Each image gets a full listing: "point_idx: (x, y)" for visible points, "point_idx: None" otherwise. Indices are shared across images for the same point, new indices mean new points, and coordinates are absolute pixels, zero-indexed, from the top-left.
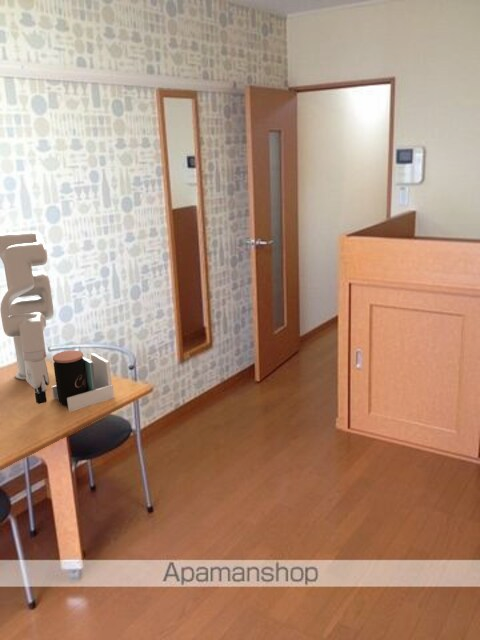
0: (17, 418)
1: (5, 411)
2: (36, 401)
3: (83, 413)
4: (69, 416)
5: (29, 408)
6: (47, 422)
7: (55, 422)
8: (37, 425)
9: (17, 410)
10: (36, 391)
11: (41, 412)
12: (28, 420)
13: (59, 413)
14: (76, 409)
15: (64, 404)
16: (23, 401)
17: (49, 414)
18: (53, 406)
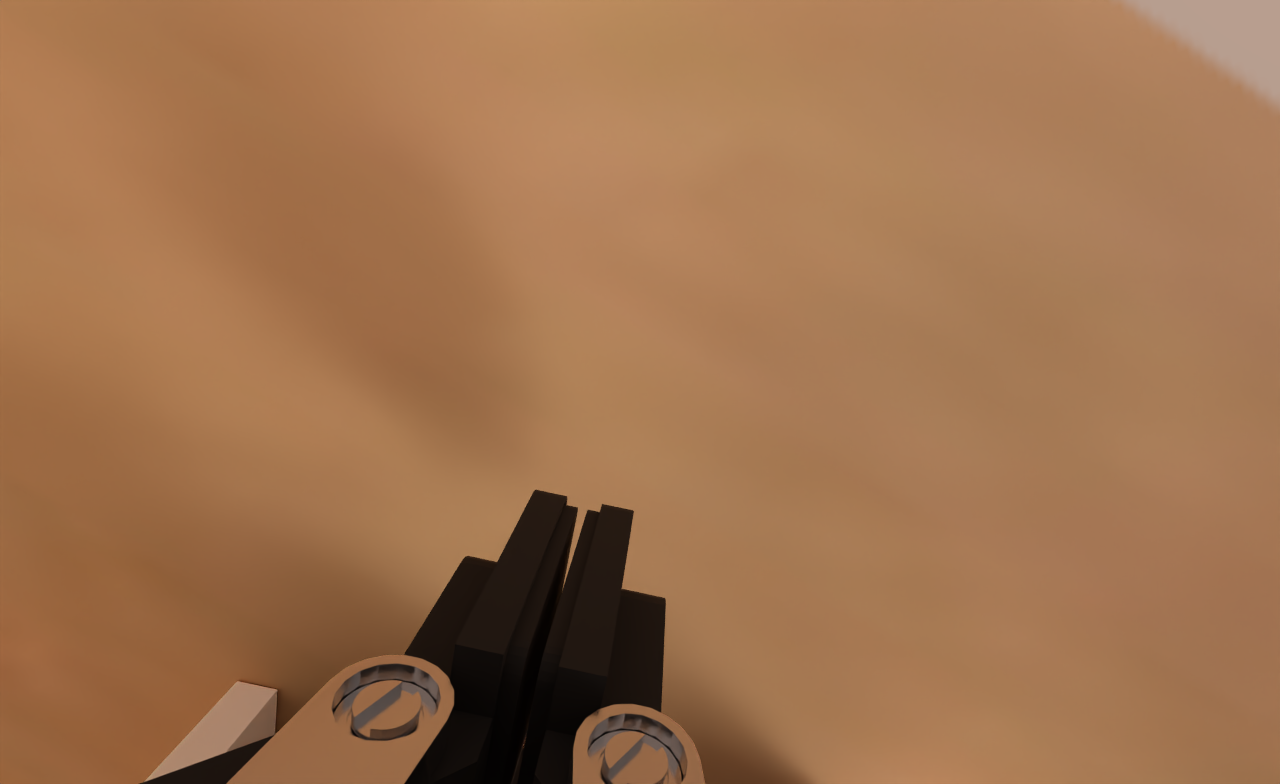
0: (686, 33)
1: (1209, 59)
2: (601, 518)
3: (61, 741)
4: (97, 595)
5: (874, 421)
6: (119, 286)
7: (34, 363)
8: (121, 108)
9: (1008, 242)
10: (583, 747)
11: (551, 446)
12: (434, 123)
13: (297, 577)
14: None
15: None
16: (1234, 525)
17: (379, 475)
18: None
